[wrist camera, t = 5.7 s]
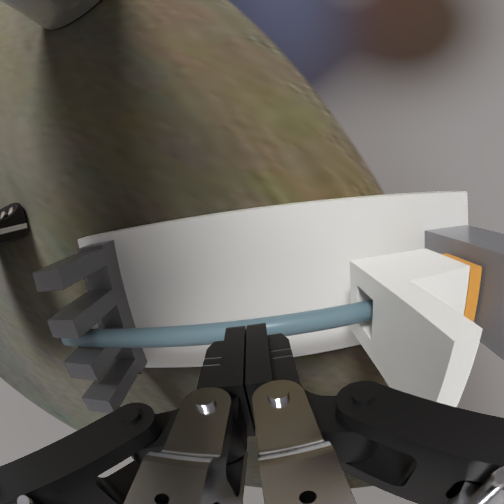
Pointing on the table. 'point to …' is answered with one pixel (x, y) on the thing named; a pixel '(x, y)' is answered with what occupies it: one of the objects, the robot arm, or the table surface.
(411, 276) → the sleeve
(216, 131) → the table surface
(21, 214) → the battery charger
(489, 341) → the cable jig
